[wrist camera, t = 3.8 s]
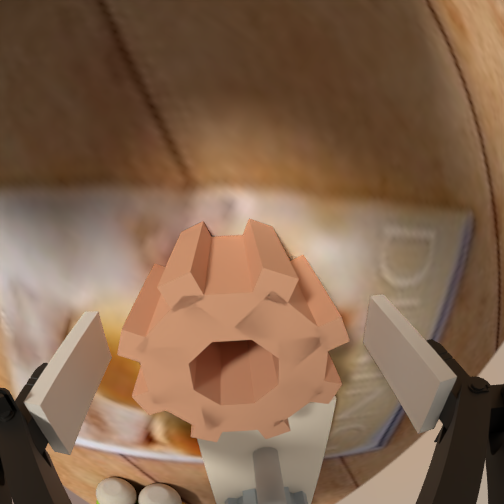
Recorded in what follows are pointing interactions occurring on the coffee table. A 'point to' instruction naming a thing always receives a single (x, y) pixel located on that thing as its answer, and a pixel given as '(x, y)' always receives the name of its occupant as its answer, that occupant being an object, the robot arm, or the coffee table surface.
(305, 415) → the gear board
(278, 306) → the gear
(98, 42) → the coffee table surface
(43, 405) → the robot arm
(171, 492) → the white-domed colorful disc toy
